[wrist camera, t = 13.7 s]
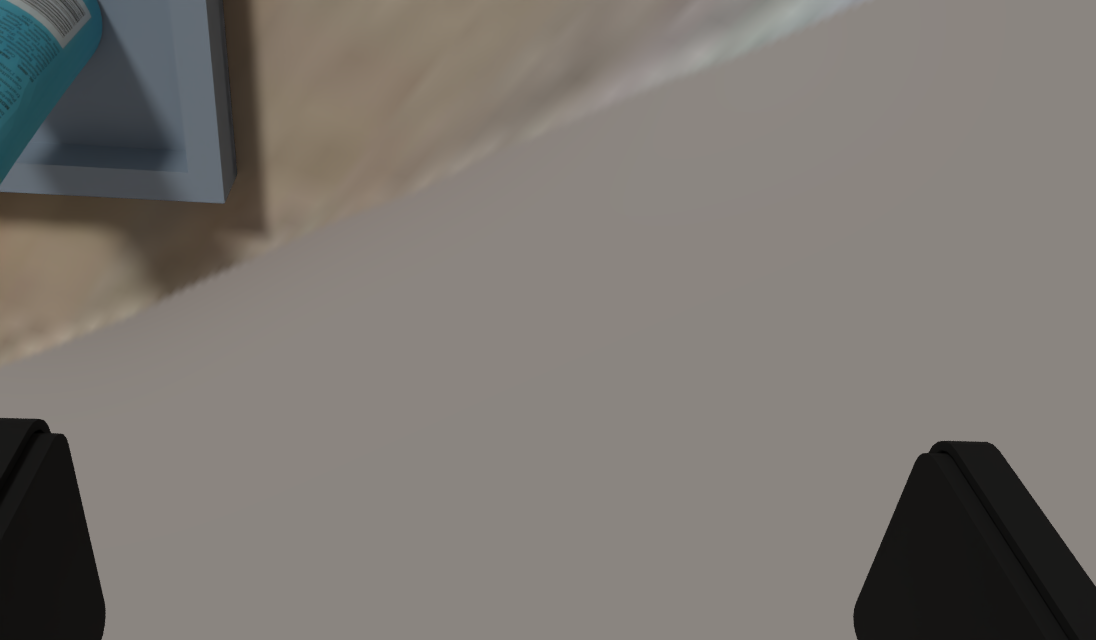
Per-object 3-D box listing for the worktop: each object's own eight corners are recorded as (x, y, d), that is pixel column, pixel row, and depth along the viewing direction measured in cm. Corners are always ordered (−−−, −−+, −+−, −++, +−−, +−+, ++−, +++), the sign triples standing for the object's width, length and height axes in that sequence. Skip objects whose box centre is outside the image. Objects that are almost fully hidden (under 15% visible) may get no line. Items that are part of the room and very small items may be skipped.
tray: (209, -156, 37) (192, -144, 35) (237, 174, 45) (224, 203, 42) (-184, -195, 35) (-232, -185, 33) (-85, 156, 43) (-118, 185, 40)
